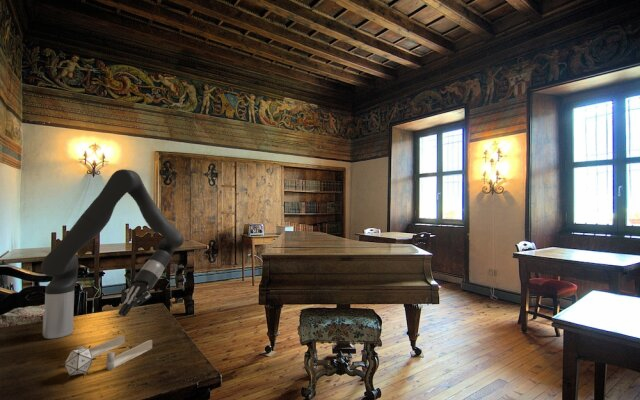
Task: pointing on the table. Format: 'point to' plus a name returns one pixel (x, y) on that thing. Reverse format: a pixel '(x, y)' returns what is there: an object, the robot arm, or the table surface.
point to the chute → (120, 358)
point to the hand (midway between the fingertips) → (121, 315)
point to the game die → (79, 361)
